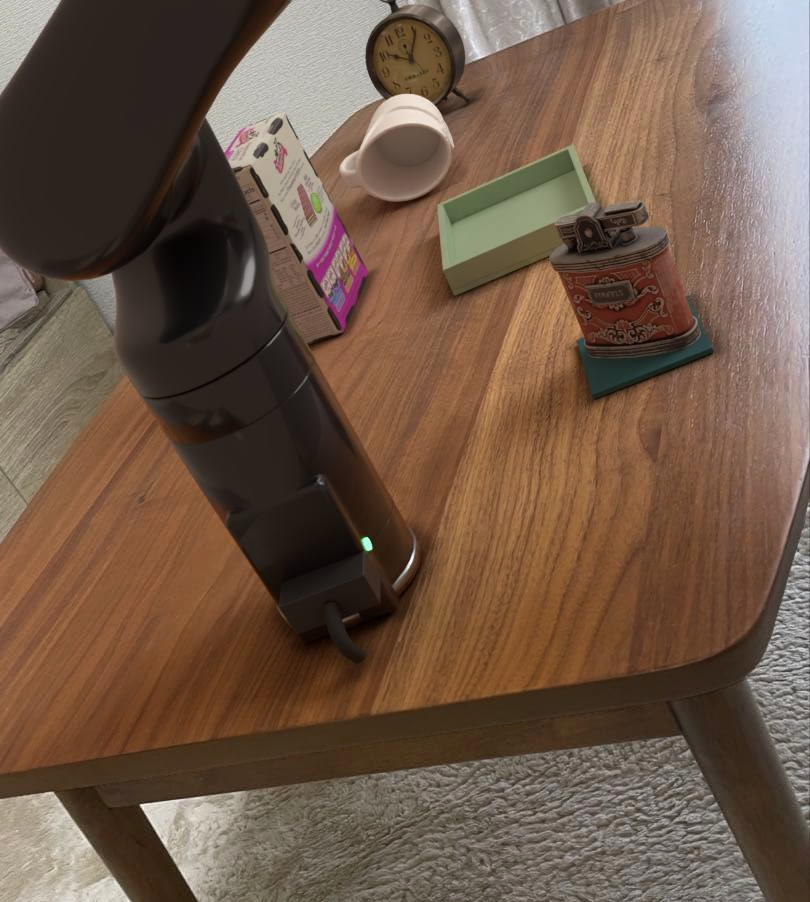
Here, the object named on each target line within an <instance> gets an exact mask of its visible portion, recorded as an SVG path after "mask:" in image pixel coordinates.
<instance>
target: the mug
mask: <svg viewBox="0 0 810 902" xmlns="http://www.w3.org/2000/svg"><path fill="white" fill-rule="evenodd" d="M454 148H455V143H454V139H453V136H452V134H451V132H450V130H449V127H448V124H447V123H446V122H445V119H444V117H443V115H442V113H441V111H440V110H439V109H438V106H435V105H434V104H433V103H431V102H430V101H429V100H427V99H426V98H424V97H421V96H418V95H414V94H401V95H396V96H394V97H391V98H389V99H388V100H386V99H385V100H384V101H383V102H381V104H380V105H379V106H378V107H377V108H376V110H375V111H374V113H373V114H372V117H371V120H370V122H369V125H368V128H367V130H366V132H365V135H364V137H363V139H362V141H361V144H360V146H359V149H358V150H356V151H353V152H352V153H350V154H348V156H346V157H345V158H344V159H343V161H342V162H341V163H340V165H339V169H338V171H339V174H340V177H341V178H342V181H343V182H344V184H345V186H347V187H348V188H350V189H359V188H362V190H363V191H364V192H365V193H367V194H368V195H369V196H371V197H372V198H377V199H379V200H383V201H387V202H394V203H395V202H399V203H400V202H407V201H411V200H415V199H417V198H420V197H422V196H424V195H426V194H428V193H430V192H431V191H432V190H434V189H435V188H436V187H437V186H439V184H440V183H441V182H442V181H443V180H444V178H445V177H446V175H447V173H448V172H449V169H450V167H451V163H452V150H453V149H454Z"/></svg>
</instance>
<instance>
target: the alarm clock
mask: <svg viewBox="0 0 810 902" xmlns="http://www.w3.org/2000/svg"><path fill="white" fill-rule="evenodd" d="M379 1H380V2H382V3H385V4H387V5H389V8H390V11H391V12H390V13H389V14H388V15H387V16H386V17H384V18H383V19H381V20H380V21H379V22H378V23H377V24H376V25H375V26H374V28H372V30H371V32H370V34H369V36H368V39H367V42H366V46H365V55H364V58H365V67H366V71H367V74H368V77H369V79H370V81H371V84H372V85H373V87H374V88H375V90H376V91H377V93H378V94H380V96H381V98H383V99H384V100H385V101H386V100H388V99H389V98H391V97H394V96H396V95H401V94H414V95H418V96H421V97H424V98H426V99H427V100H429V101H430V102H431V103H433V104H434V105H435V106H436V107H438V106H440V104H443V102H444V101H448V99H449V98H448V97H449V96H450V94H451V93H452V94H454V95H455V96H456V97H459V98H460V99H463V100H464V101H465V103H470V102H471V97H470V96H469V95H466V94H465V93H464V92H463V91H462V90H461V89H460V88H458V87H457V86H458V84H459V83H460V81H461V79H462V77H463V74H464V72H465V68H466V67H465V66H466V50H465V46H464V41H463V39H462V35H461V34H460V32H459V30H458V28H457V27H456V25H455V24H454V23H453V22H452V20H451V19H450V18H449V17H447V16H446V15H445V14H444V13H443V12H442V11H440V10H438V9H437V8H435V7H432V6H429V5H425V4H418V3H413V4H406V5H403V6H400V7H399V5H398V4H397V0H379Z"/></svg>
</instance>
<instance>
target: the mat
mask: <svg viewBox="0 0 810 902" xmlns="http://www.w3.org/2000/svg"><path fill="white" fill-rule="evenodd" d="M685 296H686V299H687V302H688V305H689V307H690V310H691V313H692V316H694V317H695V318H696V319H697V322H698V324H699V327H700V330H701V335H700V337H699V338H698V340H697V341H696V342H694V343H693V344H692V345H690V346H688V347H686V348H684V349H680V350H676V351H671V352H666V353H661V354H656V355H649V356H641V357H634V358H614V359H611V358H593V357H590V356H589V355H588V352H587V350H586V347H585V345H584V340H585V338H584V336H583V337H581V338H578V339H577V340H576V344H577V347H578V350H579V355H580V357H581V361H582V365H583V368H584V373H585V376H586V379H587V383H588V385H589V389H590V393H591V396H592V399H593V400H596V399H599V398H601V397H604V396H606V395H609V394H611V393H614V392H617V391H620V390H621V389H625V388H627V387H629V386H633V385H635V384H637V383H640V382H642V381H644V380H647V379H649V378H653V377H656V376H657V375H660V374H662V373H665V372H668V371H670V370H672V369H675V368H678V367H680V366H683V365H685V364H688V363H691V362H693V361H696V360H698V359H701V358H703V357H706V356H708V355H710V354H713V353H715V352H714V348H713V345H712V344H711V342H710V340H709V338H708V335H707V334H706V331H705V330H704V328H703V325H702V324H701V321H700V319H699V317H698V315H697V313H696V311H695V308H694V307H693V304H692V303H691V302H692V301H690V298H689V296H688V295H685Z"/></svg>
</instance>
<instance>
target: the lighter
mask: <svg viewBox="0 0 810 902" xmlns="http://www.w3.org/2000/svg"><path fill="white" fill-rule="evenodd" d="M649 219H650V216H649V213H648V210H647V208H646V205H645V201H641V200H640V199H636V200H629V201H624V202H619V203H615V204H609V205H608V207H603V205H602V204H600V203H598V202H596V203H590V204H588V205H587V206H586V207H585V208H584V210H583V211H582V212H581V213H576V214H570V215H565V216H562V217H560V218H559V219H558V220H557V221H556V222H555V227H556V230H557V232H558V235H559V237H560V238H561V239H562V240H563V242H564V244H562V245H560V246H559V247H558V248H556V249H555V250H554V251H553V252H552V253H551V255H550V256H548V257H549V258H548V259H549V262H550V264H551V267H552V269H553V271H554V272H556V273H557V274H558V277H559V279H560V281H561V284H562V286H563V288H564V291H565V293H566V296H567V298H568V301H569V303H570V306H571V309H572V311H573V313H574V315H575V318H576V319H577V323H578V325H579V328H580V330H581V332H582V335H583V337H584V338H585V340H584V345H585V347H586V350H587V352H588V355H589V356H590V357H593V358H611V359H614V358H634V357H641V356H649V355H656V354H661V353H666V352H671V351H676V350H680V349H684V348H686V347H688V346H690V345H692V344H693V343H694V342H696V341H697V340H698V338H699V337H700V335H701V330H700V327H699V324H698V322H697V319H696V318H695V317H694V316H692V313H691V310H690V307H689V305H688V302H687V299H686V296H687V295H686V293H685V291H684V288H683V285H682V282H681V279H680V277H679V274H678V271H677V267H676V264H675V262H674V259H673V257H672V256H673V255H672V253H671V251H670V247H669V244H670V239H669V236H668V233H667V230H666V228H665V227H664V226H658V225H657V226H642V225H644V224H645V223H646V222H648V220H649Z"/></svg>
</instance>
